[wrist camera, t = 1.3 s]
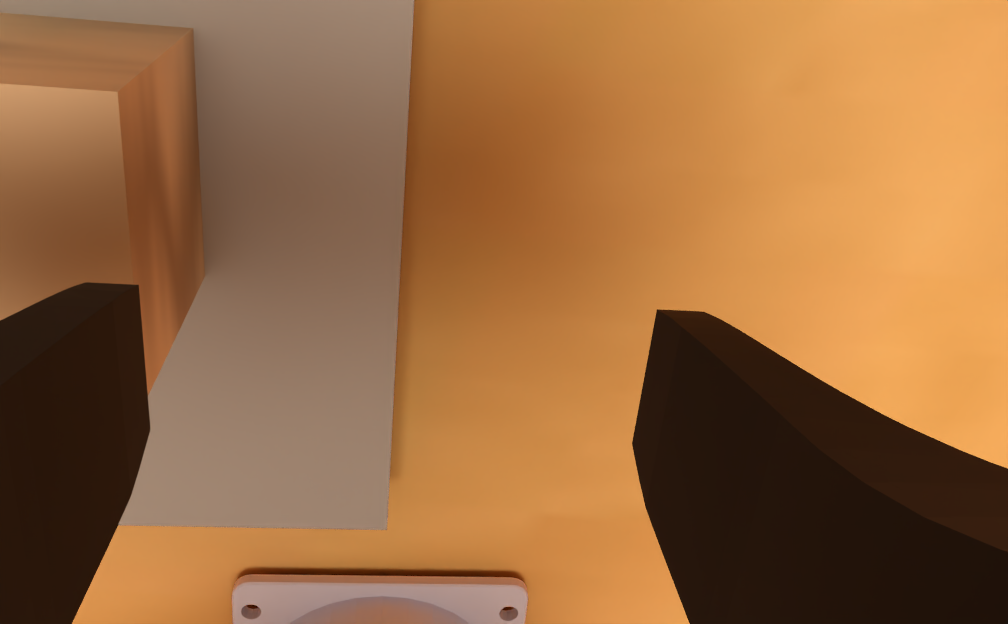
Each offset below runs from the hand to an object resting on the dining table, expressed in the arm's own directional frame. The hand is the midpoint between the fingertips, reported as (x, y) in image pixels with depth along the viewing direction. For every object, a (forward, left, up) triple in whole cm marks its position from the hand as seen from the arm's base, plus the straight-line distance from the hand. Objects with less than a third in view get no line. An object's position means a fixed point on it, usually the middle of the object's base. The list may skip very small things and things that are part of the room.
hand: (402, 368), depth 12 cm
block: (0, +6, -8) cm, 10 cm away
